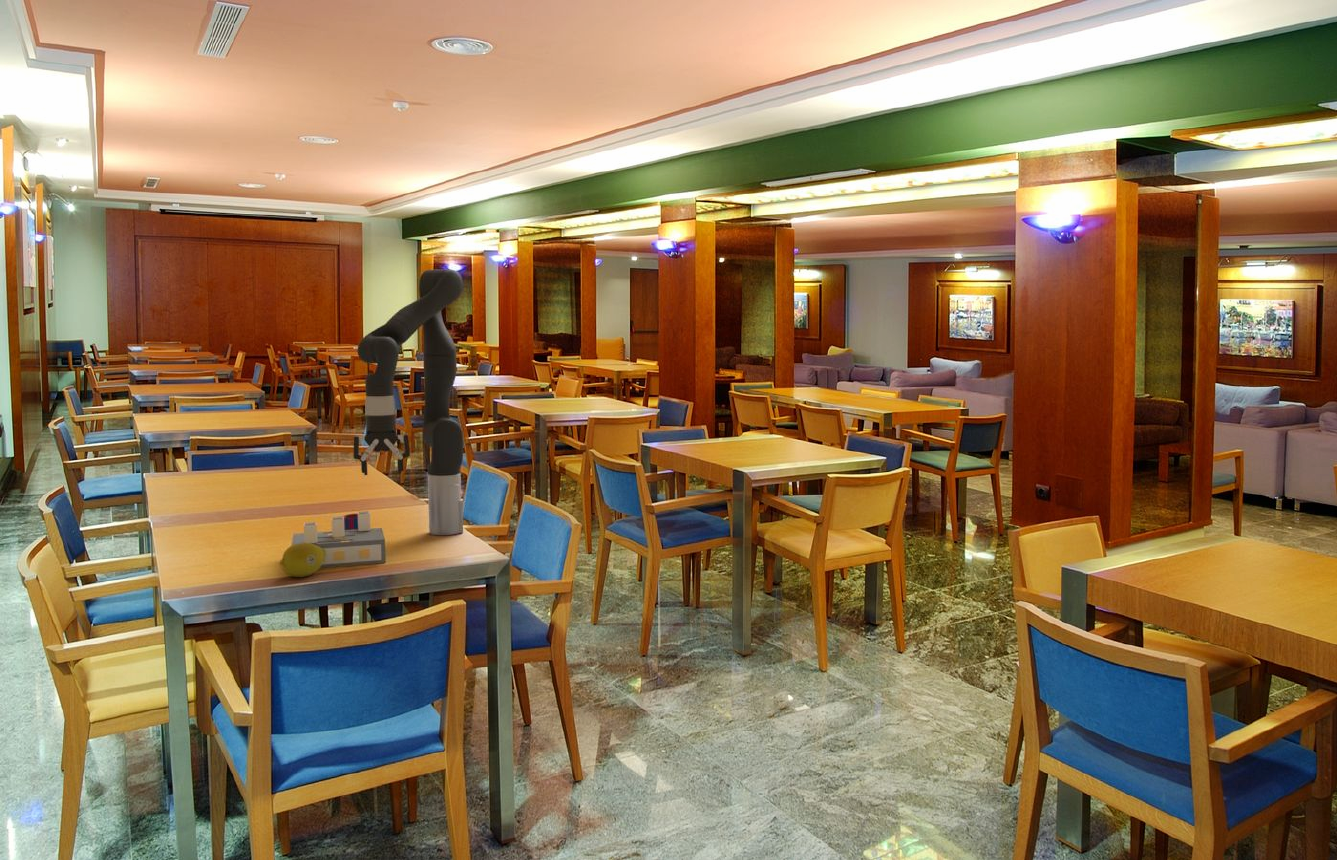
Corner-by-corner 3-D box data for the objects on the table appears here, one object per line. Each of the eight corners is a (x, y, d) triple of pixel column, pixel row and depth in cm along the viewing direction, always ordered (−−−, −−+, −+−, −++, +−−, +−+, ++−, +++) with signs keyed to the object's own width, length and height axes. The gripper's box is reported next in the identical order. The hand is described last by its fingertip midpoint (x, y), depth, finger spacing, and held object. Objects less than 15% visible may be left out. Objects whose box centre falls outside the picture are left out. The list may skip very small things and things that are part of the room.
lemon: (284, 583, 227) (283, 549, 226) (276, 576, 233) (274, 543, 232) (331, 576, 233) (330, 543, 232) (322, 569, 239) (321, 537, 238)
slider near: (317, 540, 243) (316, 521, 243) (317, 542, 241) (316, 524, 240) (304, 541, 242) (303, 522, 242) (304, 543, 240) (303, 525, 239)
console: (382, 550, 260) (381, 527, 260) (385, 563, 246) (385, 539, 245) (294, 556, 253) (293, 533, 252) (292, 570, 238) (291, 545, 238)
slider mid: (344, 534, 251) (343, 516, 250) (344, 536, 248) (344, 518, 247) (332, 535, 250) (331, 516, 249) (332, 537, 247) (331, 519, 246)
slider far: (370, 528, 258) (369, 510, 258) (370, 530, 255) (369, 512, 255) (358, 529, 257) (357, 511, 257) (358, 531, 254) (357, 513, 254)
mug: (360, 542, 269) (359, 518, 268) (328, 540, 272) (327, 516, 271) (373, 537, 275) (373, 514, 275) (343, 535, 278) (342, 512, 278)
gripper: (408, 411, 261) (410, 470, 263) (352, 412, 258) (355, 473, 259) (408, 413, 254) (410, 475, 256) (351, 415, 250) (353, 477, 252)
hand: (382, 474), depth 258 cm, fingers open, 8 cm apart
